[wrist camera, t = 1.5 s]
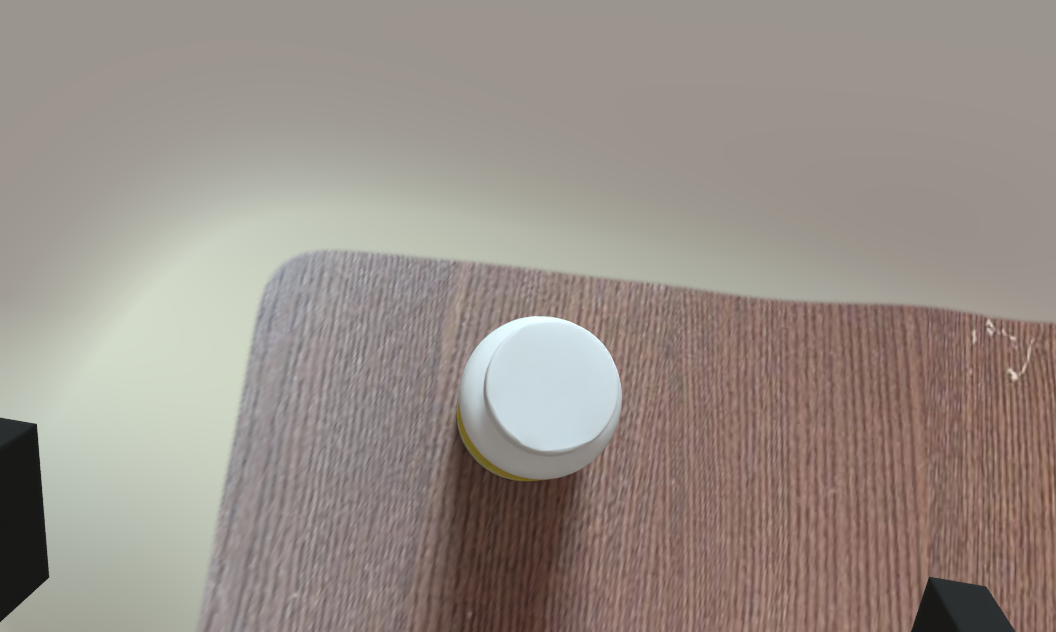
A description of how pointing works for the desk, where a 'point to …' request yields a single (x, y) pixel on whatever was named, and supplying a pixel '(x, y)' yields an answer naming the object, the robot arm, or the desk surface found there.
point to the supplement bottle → (538, 399)
